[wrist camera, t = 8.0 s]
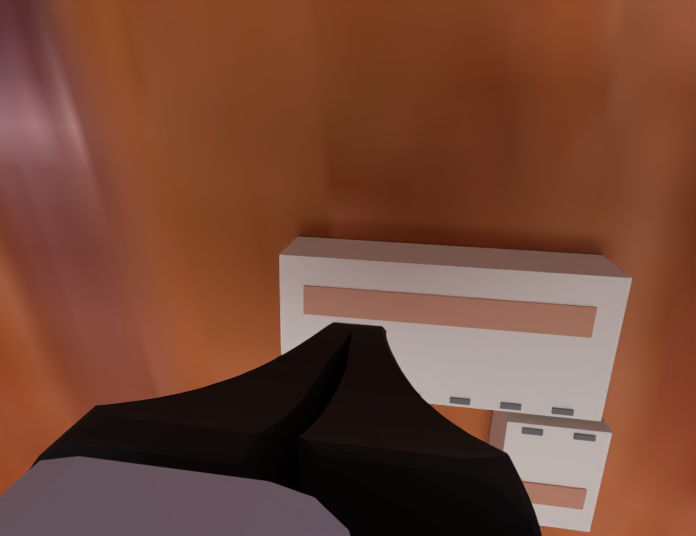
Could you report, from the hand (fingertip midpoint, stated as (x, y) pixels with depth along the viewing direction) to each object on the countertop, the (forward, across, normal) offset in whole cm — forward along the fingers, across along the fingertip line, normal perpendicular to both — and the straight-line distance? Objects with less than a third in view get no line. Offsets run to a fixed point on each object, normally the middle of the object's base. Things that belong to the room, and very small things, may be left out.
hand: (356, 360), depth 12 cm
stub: (+10, -8, +8) cm, 15 cm away
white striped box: (+10, -2, +2) cm, 11 cm away
